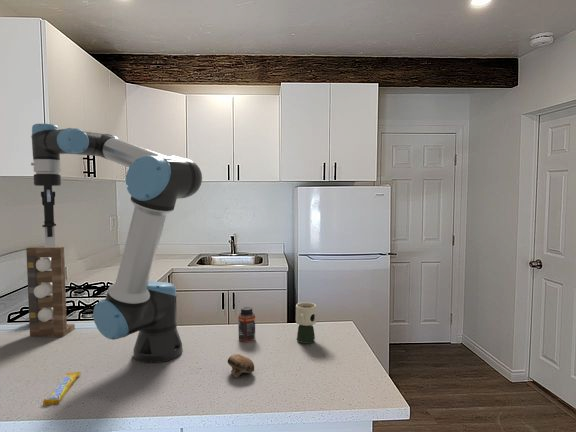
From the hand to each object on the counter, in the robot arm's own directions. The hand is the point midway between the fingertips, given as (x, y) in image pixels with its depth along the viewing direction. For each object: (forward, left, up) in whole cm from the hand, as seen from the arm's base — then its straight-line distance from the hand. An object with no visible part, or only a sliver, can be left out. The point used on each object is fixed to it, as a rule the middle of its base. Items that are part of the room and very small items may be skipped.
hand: (50, 246), depth 136 cm
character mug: (-35, -76, -35) cm, 91 cm away
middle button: (+15, +2, -20) cm, 25 cm away
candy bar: (-32, -1, -35) cm, 47 cm away
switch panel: (+18, 0, -34) cm, 39 cm away
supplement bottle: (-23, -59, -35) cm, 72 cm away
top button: (+17, +1, -10) cm, 20 cm away
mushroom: (-47, -46, -35) cm, 74 cm away
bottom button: (+17, +1, -28) cm, 33 cm away
